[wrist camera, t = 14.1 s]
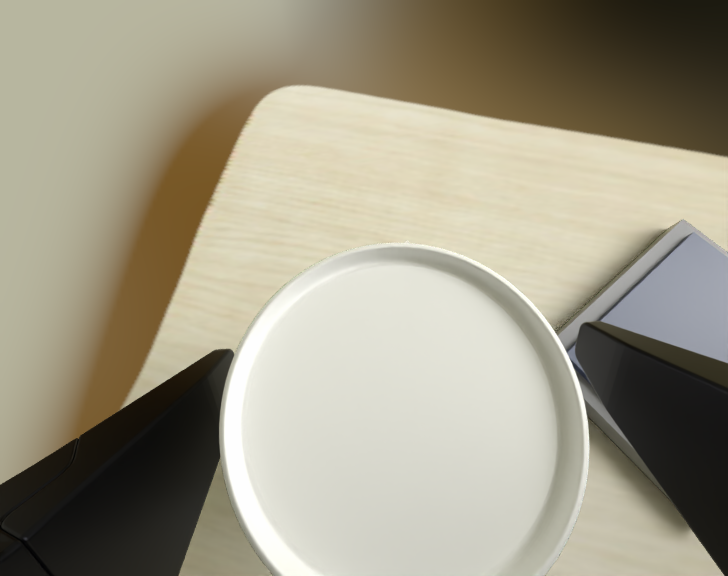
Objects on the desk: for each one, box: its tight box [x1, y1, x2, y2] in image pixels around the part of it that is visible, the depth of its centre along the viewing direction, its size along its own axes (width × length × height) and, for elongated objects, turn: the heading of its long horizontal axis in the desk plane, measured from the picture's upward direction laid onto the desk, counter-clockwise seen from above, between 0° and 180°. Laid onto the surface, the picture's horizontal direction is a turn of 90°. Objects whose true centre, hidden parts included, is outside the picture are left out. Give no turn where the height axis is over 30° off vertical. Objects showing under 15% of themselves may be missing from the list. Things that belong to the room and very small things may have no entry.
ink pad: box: [556, 219, 728, 498], centre depth 16 cm, size 11×9×1 cm
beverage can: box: [219, 243, 589, 576], centre depth 10 cm, size 6×6×12 cm
